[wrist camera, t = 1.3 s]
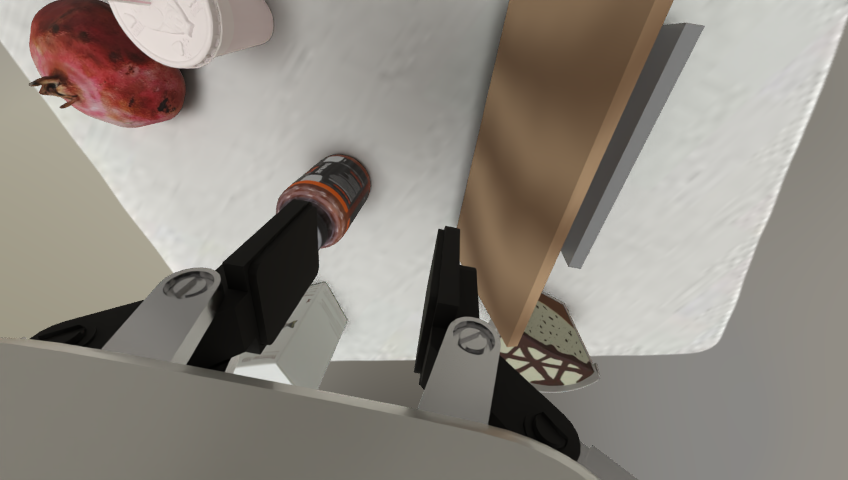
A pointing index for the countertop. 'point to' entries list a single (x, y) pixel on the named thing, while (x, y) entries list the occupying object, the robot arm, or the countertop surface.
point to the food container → (551, 350)
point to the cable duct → (630, 135)
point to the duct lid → (546, 139)
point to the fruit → (101, 66)
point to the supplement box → (300, 343)
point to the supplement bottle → (331, 195)
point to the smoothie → (193, 28)
